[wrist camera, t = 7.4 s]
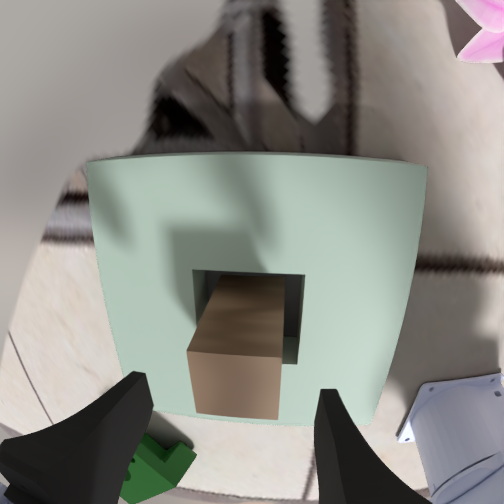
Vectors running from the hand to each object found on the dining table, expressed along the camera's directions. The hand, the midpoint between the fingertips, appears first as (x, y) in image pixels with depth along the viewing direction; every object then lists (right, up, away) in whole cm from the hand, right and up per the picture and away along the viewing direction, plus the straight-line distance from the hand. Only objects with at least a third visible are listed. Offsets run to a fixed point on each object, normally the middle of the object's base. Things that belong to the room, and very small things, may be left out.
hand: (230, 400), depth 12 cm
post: (+1, +3, +9) cm, 9 cm away
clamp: (-10, -15, +18) cm, 26 cm away
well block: (+1, +3, +9) cm, 10 cm away
